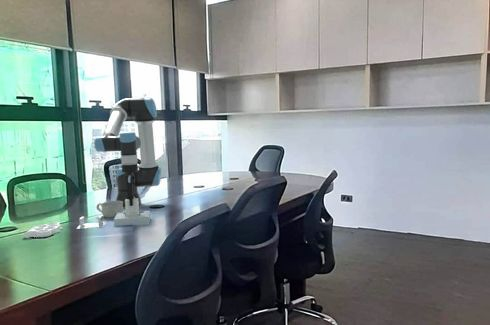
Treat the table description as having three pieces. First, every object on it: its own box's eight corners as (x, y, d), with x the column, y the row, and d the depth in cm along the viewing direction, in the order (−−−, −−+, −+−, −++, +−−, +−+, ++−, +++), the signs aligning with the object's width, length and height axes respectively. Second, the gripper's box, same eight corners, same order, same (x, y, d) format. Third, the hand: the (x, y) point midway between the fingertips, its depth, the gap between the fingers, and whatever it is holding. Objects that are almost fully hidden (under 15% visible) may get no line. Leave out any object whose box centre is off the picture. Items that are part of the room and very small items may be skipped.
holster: (80, 225, 194) (80, 215, 193) (106, 223, 196) (105, 213, 195) (76, 230, 184) (75, 220, 183) (103, 228, 186) (102, 218, 186)
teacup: (127, 215, 212) (126, 200, 212) (114, 220, 202) (113, 204, 201) (106, 214, 217) (105, 200, 216) (92, 219, 207) (91, 204, 206)
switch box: (118, 220, 201) (117, 212, 200) (150, 218, 204) (149, 210, 203) (114, 227, 187) (113, 218, 187) (149, 224, 190) (148, 215, 190)
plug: (127, 222, 197) (125, 198, 196) (139, 221, 198) (138, 198, 197) (126, 224, 193) (124, 200, 192) (139, 223, 194) (137, 199, 193)
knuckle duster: (35, 230, 188) (67, 228, 190) (20, 241, 170) (56, 238, 173) (34, 223, 188) (67, 221, 190) (19, 233, 170) (56, 231, 172)
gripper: (123, 162, 201) (126, 208, 203) (119, 166, 183) (122, 215, 185) (138, 162, 202) (141, 207, 204) (136, 165, 185) (139, 214, 187)
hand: (132, 210), depth 195 cm, fingers open, 5 cm apart
